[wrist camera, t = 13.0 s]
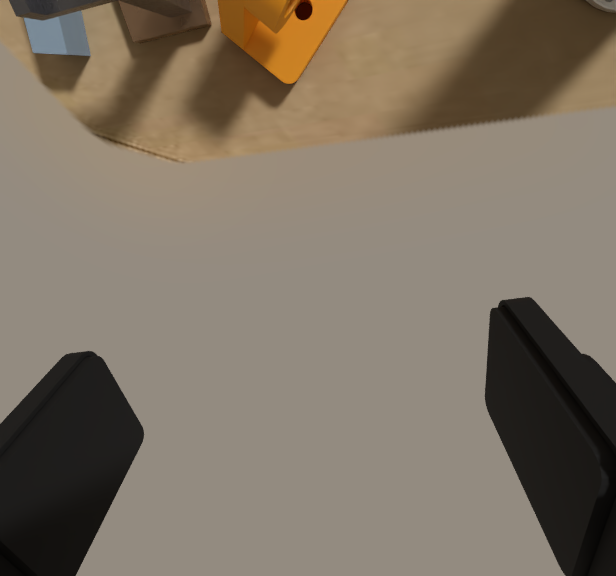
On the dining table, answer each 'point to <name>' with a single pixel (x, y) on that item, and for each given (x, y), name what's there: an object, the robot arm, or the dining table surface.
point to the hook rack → (128, 14)
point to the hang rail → (59, 35)
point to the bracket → (279, 31)
